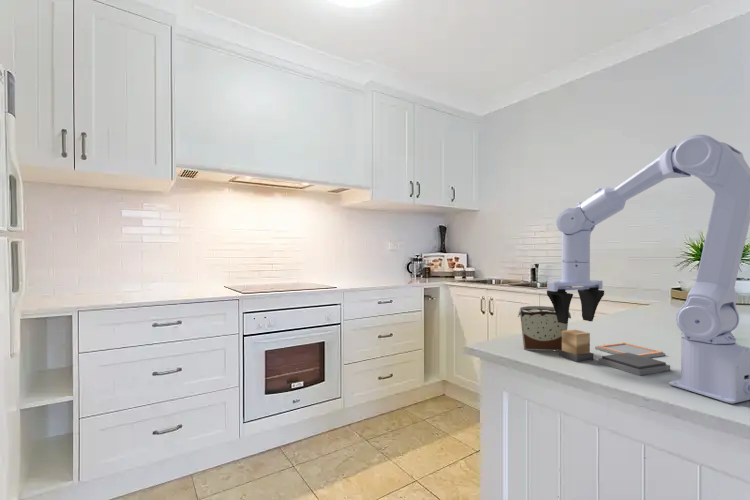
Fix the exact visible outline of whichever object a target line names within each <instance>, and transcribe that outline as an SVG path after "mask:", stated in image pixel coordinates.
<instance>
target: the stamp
mask: <svg viewBox="0 0 750 500" xmlns="http://www.w3.org/2000/svg"><path fill="white" fill-rule="evenodd" d="M590 340H591V333H590V332H588V331H587V332H586V331H584V330H583V331H582V330H577V329H567V330H565V331H562V350H558V351H557V353H558V355H557V357H560V358H562V359H566V360H569V361H572V362H575V363H581V362H588V361H594V353H593V352H591V344H590V342H591V341H590Z"/></svg>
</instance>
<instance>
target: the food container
mask: <svg viewBox="0 0 750 500" xmlns="http://www.w3.org/2000/svg"><path fill="white" fill-rule="evenodd" d="M517 317H518V318H520V322H521V323H520V326H521V333H522V343H523V350H526V351H547V350H555V352H558V350H562V331H565V330H568V326H569V325H568V324H569V322H568V323H567V324H563V323H559V322H558V320H557V316H556V313H555V309H554V307H553V306H543V305H532V306H531V305H530V306H529V305H528V306H521V307H520V308H519V310H518V313H517ZM568 319H571V320H572V315H571V312H570V311H569V318H568Z"/></svg>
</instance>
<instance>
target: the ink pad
mask: <svg viewBox="0 0 750 500" xmlns="http://www.w3.org/2000/svg"><path fill="white" fill-rule="evenodd" d="M597 359H598V360H597V362H598V364H601V365H605V366H607V367H611V368H615V369H618V370H621V371H624V372H626V373H631V374H634V375H637V376H645V375H649V374H651V375H652V374H655V373H660V372H661V373H662V372H667V371H671V365H670V364H667V363H666V361H661V360H659V359H654V358H647V357H643V356H639V355H635V354H632V353H621V354H608V355H602V356H601V357H598V358H597Z"/></svg>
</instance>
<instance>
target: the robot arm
mask: <svg viewBox="0 0 750 500" xmlns="http://www.w3.org/2000/svg"><path fill="white" fill-rule="evenodd" d="M691 176H694V177H695V178H698V179H700V181H701V182H703V184H705V185H706V186H707V187H708V188H710V190H712V191H713V192H714V196H713V197H714V198H713V202H712V207H711V211H710V215H709V219H708V224H707V230H706V234H705V238H704V242H703V248H702V252H701V256H700V261H699V265H698V270H697V274H696V278H695V282H694V284H693V285H692V287H691V289H690V290H689V291H688V293H687V295H686V296H687V297H686V301H685V303H683V305H682V306H681V307H680V308H679V309H678V310H677V311H676V312H677V313H676V315H675V322H676V325H677V327H678V329H679V330H680V332H681V334H680V335H681V336H680V337H681V338H680V339H681V340H680V341H681V342H680V350H681V351H680V352H681V353H680V355H681V356H680V357H681V358H680V362H681V363H680V369H681V370H680V377H681V378H680V379H677V380H672V381H669V382H668V383H669V385H670V386H674V387H677V388H680V389H683V390H686V391H690V392H693V393H696V394H699V395H702V396H706V397H709V398H712V399H716V400H717V401H722V402H724V403H728V404H731V405H732V404H737V403H742V402H746V401H750V347H747V346H743V345H741V344H739V343H737V342H736V340H737V338H736V337H735V335H734V333H732V332H733V331H734V330H735V329H736V328H737V327H738V326H739V323H740V315H739V312H738V310H737V300H738V296H737V292H736V289H735V287H736V282H737V279H738V274H739V271H740V265H741V261H742V257H743V253H744V248H745V244H746V240H747V235H748V232H749V227H750V166H749V164H748V163H747V161H746V160H745V157H744V154H743V152H741V151H740V150H738V149H737V148H736V147H734V146H732V145H730V144H728V143H727V142H722V141H719V140H717V139H716V138H714V137H712V136H710V135H707V134H695V135H690V136H688V137H686V138H684V139H682V140H681V141H680V142H679V143H678V144H677V145H673V146H671V147H669V148H667V149H666V150H664V152H663V153H661V154H660V156H658V157H657V158H656V159H654V160H652V161H651V162H650V163H648V164H647V165H646V166H644V167H643V168H641V169H640V170H638V171H637V172H636V173H634V174H633V175H631V176H630V177H628V178H627V179H626V180H624V181H623V182H621V183H620V184H618V186H617V185H616V187H610V186H609V187H607V186H606V187H604V188H599V187H598V188H597V189H596V190H594V194H593V195H591V196H590V197H588V198H587V199H585V200H584V201H582V202H577V203H576V204H575V207H567V208H564V209H563V210H562V211H560V212H559V214H558V216H557V218H556V227H557V229H558V230H559V232H561V279H558V280H555V281H547V290H546V295H547V296H548V298H549V300H550V302H551V304H552V307H554V309H555V313H556V316H557V320H558V322H559V323H563V324H567V323H568V324H569V319H570V318H569V312H570V306H571V302H572V299H573V296H574V294H573V293H569V292H567V291H577V293H578V296H579V299H580V305H581V319H582V321H587V322H593V321H594V317H595V315H596V311H597V307H598V306H599V303H600V301H601V300H602V298H603V297H604V295H605V290H603V280H598V279H591V234H592V232H593V231H594V229H595V228H596V226H598V224H601V223H602V222H603V221H605V220H607V219H608V218H610V217H612V216H614V215H616V214H617V213H619V212H621V211H623V210H624V208H625V206H626V202H627V201H628V200H630V199H631V198H633V197H635V196H637V195H640V193H643V192H644V191H646V190H648V189H650V188H652V187H654V186H656V185H658V184H660V183H661V182H663V181H664V180H667V179H676V178H677V179H678V178H680V179H681V178H689V177H690V178H691Z"/></svg>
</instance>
